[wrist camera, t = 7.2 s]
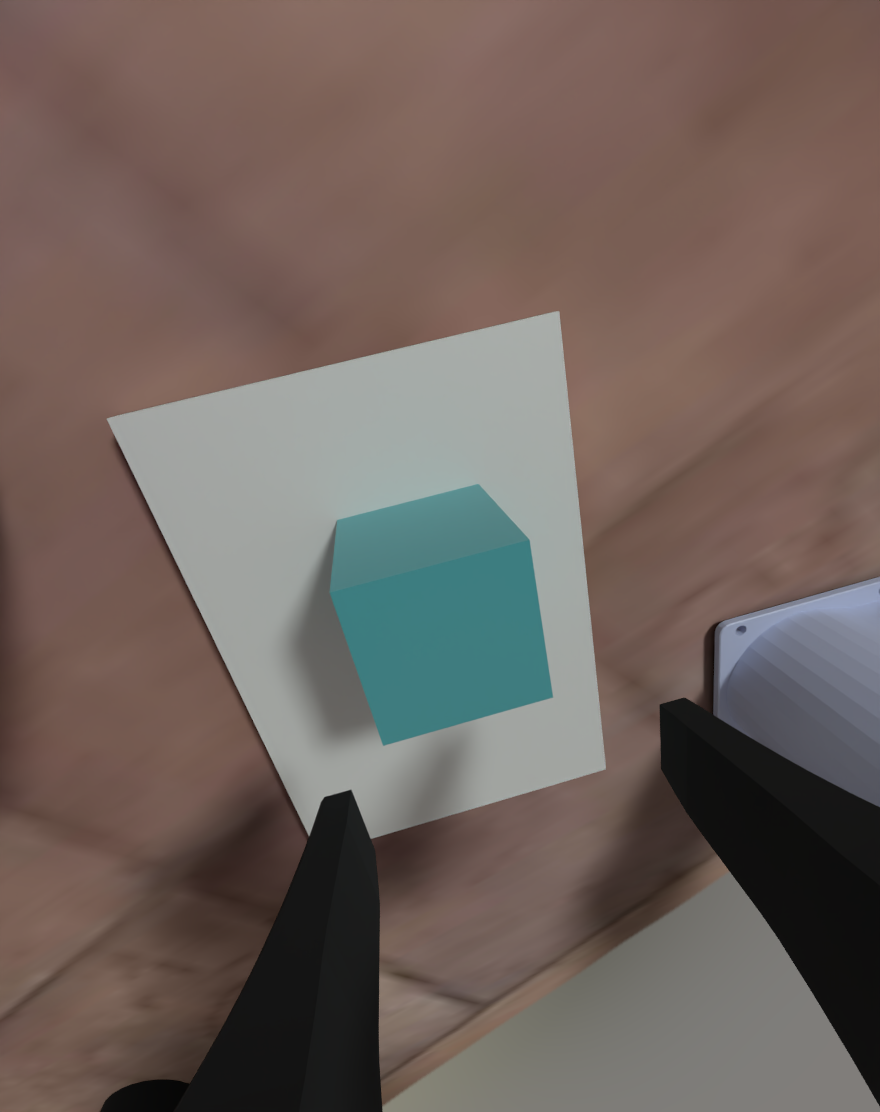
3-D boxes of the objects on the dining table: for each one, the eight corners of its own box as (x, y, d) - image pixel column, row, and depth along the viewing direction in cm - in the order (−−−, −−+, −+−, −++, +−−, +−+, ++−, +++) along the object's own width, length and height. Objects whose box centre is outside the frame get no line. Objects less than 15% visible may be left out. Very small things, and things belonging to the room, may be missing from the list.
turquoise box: (478, 483, 17) (529, 539, 12) (501, 606, 19) (552, 697, 14) (337, 519, 17) (329, 592, 12) (375, 640, 19) (382, 745, 14)
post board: (547, 313, 16) (628, 298, 11) (596, 753, 24) (656, 853, 20) (121, 414, 15) (14, 444, 11) (319, 835, 24) (310, 960, 19)
